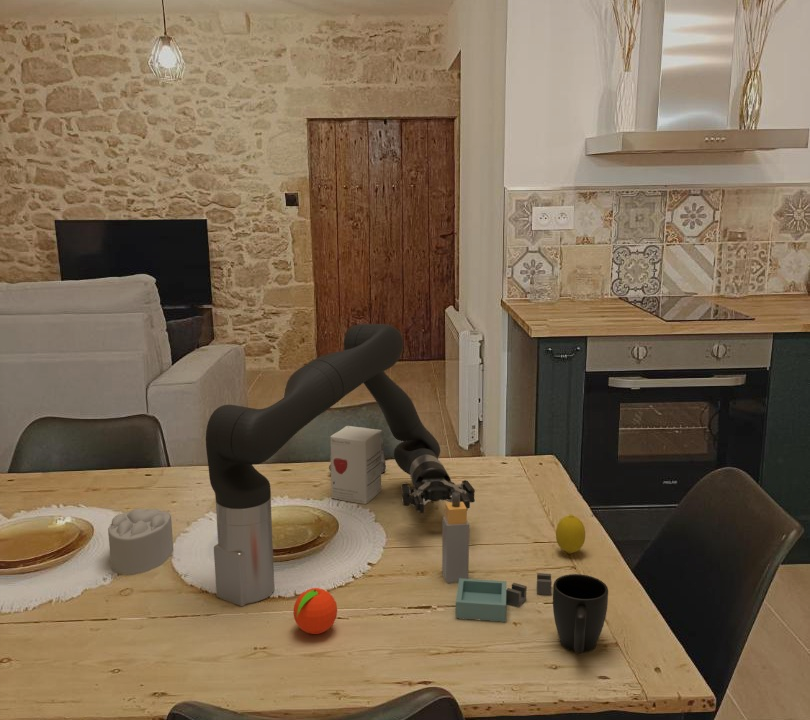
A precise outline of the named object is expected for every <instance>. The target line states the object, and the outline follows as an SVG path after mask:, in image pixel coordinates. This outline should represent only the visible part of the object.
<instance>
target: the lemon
mask: <svg viewBox="0 0 810 720" xmlns="http://www.w3.org/2000/svg"><path fill="white" fill-rule="evenodd" d="M555 539H556V543H557V545H558V547H559V548H560V549H561V550H563V551H564V552H566V554H568V555H571V554H573V553H576V552H578V551H580V549H581V548H582V547H583V546H584V544H585V542H586V529H585V525H584V523H583V521H582V520H581V519H580V518H578V517H577V516H575V515H574V514H569V515H566V516H564V517H562V518H561V519H560V520H559V522H558V523H557V525H556V529H555Z"/></svg>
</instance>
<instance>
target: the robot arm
mask: <svg viewBox="0 0 810 720" xmlns="http://www.w3.org/2000/svg"><path fill="white" fill-rule="evenodd" d="M403 339H404V338H403V335H402V333H401V331H399V330H398V329H397V328H396V327H394V326H393V325H390V324H387V323H386V324H385V323H376V324H375V323H361V324H355V325H352V326H351V327H349V328H348V329H347V331H346V333H345V335H344V339H343V350H339V351H336V352H332V353H331V352H330V353H328V354H324V355H322V356H319V357H316V358H315V359H312V360H311V361H309V362H308V363H306V364H304V365H303V366H301V367H300V368H298V369H297V370H295V371H294V372H293V373H292V374H291V375H290V377H289V378H288V379H287V383H286V386H285V389H284V394H283V395H284V396H283V398H281V399H279V400H278V401H276V402H275V403H273V404H271V405H269V406H267V407H265V408H253V407H249V406H248V407H247V406H241V405H235V404H224V405H220V406H219V407H217V408H216V409H215V410H214V411H213V412H212V414H210V417H209V418H208V421H207V424H206V431H205V449H206V458H207V465H208V466H207V468H208V475H209V482H210V486H211V488H212V490H213V492H214V496H215V497H214V498H215V510H216V511H215V513H216V528H217V529H216V530H217V531H216V532H217V544H215V545H214V547H213V554H214V555H213V556H214V557H213V559H214V575H215V578H214V579H215V591H216V592H215V593H216V597H217V598H218V599H220V600H224V601H227V602H229V603H232V604H235V605H237V606H239V607H244V606H246V605H248V604H253V603H257V602H259V601H262V600H265V599H267V598H269V597H270V596H271V595H272V594H273V593H272V592H274V591H275V569H274V546H273V543H274V542H273V523H272V522H273V520H272V519H273V518H272V517H273V516H272V499H271V498H272V497H271V496H272V494H271V492H272V491H271V489H272V488H271V483H270V481H269V479H268V478H267V477H266V476H265V475H263V474H262V473H261V472H259V471H258V470H257V469H256V468H255V466H254V465H260V464H262V463H264V462H267V461H268V460H269V459H270V458H272V457H273V456H274V455H275V454H276V453H277V452H279V450H280V449H281V448H283V446H285V445H286V444H287V443H288V442H290V440H291V439H292V438H293V437H294V436H295V435H296V434H297V433H298V432H299V431H300V430H302V429H303V428H304V427H306V426H307V425H308V424H309V423H311V422H312V421H314V420H315V419H316V418H317V417H318V416H320V415H321V414H323V413H324V412H326V411H327V410H329V409H330V408H332V407H333V406H334V405H335V404H337V403H338V402H339V401H341V400H342V399H343V398H344V397H345V396H347V395H349V394H350V393H351V392H353V391H354V390H356V389H357V388H359V387H360V386H361V385H362V384H363V385H364V386H365V388H366V389H367V390H368V391H369V393H370V394H371V396H372V398H373V399H374V400H375V402H376V403H377V405H378V407H379V409H380V410H381V412H382V414H383V417H384V419H385V421H386V423H387V426H388V427H389V429H390V432H391V434H392V436H393V438H394V439H395V440H398V441H400V443H398V444H397V445H396V446H395V448H394V451H393V458H394V461H395V462H396V465H397V466H398V467H399V468H400V470H402V472H404V473H405V474H408V475H409V477H410V482H411V485H412V486H410V485H408V483H401V499H402V503H403V506H404V507H409V506H410V505H412V506H413V507H414V510H415V511H416V512H419V514H424V513H425V510H424V509H425V505H426V504H427V503H428V502H429V503H430V502H431V503H432V502H433V503H434V502H435V503H436V502H438V501H442V502H443V501H446V502H447V503H449V502H452V493H455V492H456V493H460V502H463V503H464V504H465V506H466V508H467V511H468V509H470V507H471V505H470V504H471V503H475V492H476V489H475V488H474V487H473V486H472V485H471V483H470V482H469V481H468V480H465V479H463V480H461V484H460V483H459V484H456V483H455V482H453V481H452V480H451V478H450V475H449V474H448V472H447V470H446V467H444V464H443V463H442V461H440V459H439V457H440V454H441V447H440V443H439V442H438V440H437V439H436V438H435V436H433V434H432V433H431V432H430V431H429V430H428V429H427V428H426V427H425V426H424V424H423V423H422V420H421V419H420V417H419V414H418V411H417V409H416V407H415V404H414V402H413V400H412V399H411V397H409V395H408V394H407V393H406V391H404V390H403V388H401V387H400V386H399V385H398V384H397V383H396V382H394V380H392V379H391V378H390V376H389V375H387V373H386V372H385V371H387V370H389V369H391V368H392V367H394V366H395V365H396V363H397V362H398V361H399V360H400V358H401V355H402V354H403V350H404V340H403Z"/></svg>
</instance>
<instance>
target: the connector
mask: <svg viewBox="0 0 810 720" xmlns="http://www.w3.org/2000/svg"><path fill="white" fill-rule="evenodd" d="M451 497H452V502H445V509H444V510H445V511H444V516H442V535H441V536H442V542H441V543H442V544H441V545H442V546H441V549H442V550H441V552H442V553H441V555H442V557H441V559H442V560H441V561H442V563H441V573H442V576H443V578H444V581H445V583H446V584H454V583H459V578H463V579H469V569H470V568H469V565H470V561H469V560H470V557H469V556H470V545H469V544H470V523H469V521H468V519H467V518H468V517H467V516H468V510H467V508H466V506H465V504H464V503H463V502H460V493H456V492H455V493H452V496H451Z"/></svg>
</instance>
